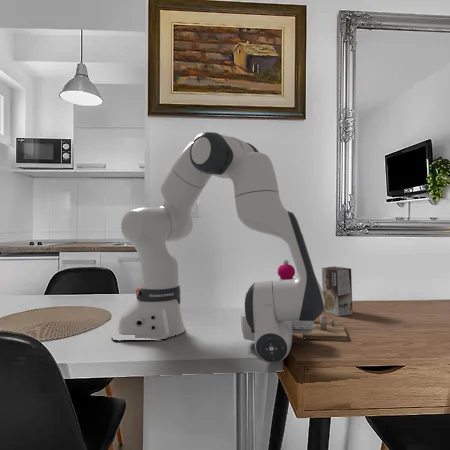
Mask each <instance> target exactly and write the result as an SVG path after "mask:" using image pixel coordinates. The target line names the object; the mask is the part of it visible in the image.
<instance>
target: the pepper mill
mask: <svg viewBox="0 0 450 450" xmlns="http://www.w3.org/2000/svg"><path fill="white" fill-rule="evenodd" d="M289 262H290V261H289V260H288V259H284V260H283V264H281V265H279V267H278V268H277V275H278V277H279V278H278V281H280V280H290V279H295V278H294V276H295V275H296V268H294V267H295V266H293V265H292V264H290V263H289Z"/></svg>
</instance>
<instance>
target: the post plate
mask: <svg viewBox="0 0 450 450" xmlns="http://www.w3.org/2000/svg"><path fill="white" fill-rule="evenodd" d="M314 324H315V325H316V329H313V331H312V332H310V333H302V339H303V338H305V339H321V340H320V341H341V342H342V341H344V342H346V341H348V334H347V332H346V329H345V328H344V325H343V324H338V323H337V324H336V323H335V319H333V318H331V319H330V323H327V315H322V314H321V315H320V316H319V323H314Z"/></svg>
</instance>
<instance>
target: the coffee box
mask: <svg viewBox="0 0 450 450" xmlns="http://www.w3.org/2000/svg"><path fill="white" fill-rule="evenodd" d="M321 280H322V283H321V284H322V285H321V286H322V287H321V288H322V291H323V294H324V298H325V307H324V311H325V312H324V311H323V312H324V313H328V314H332V315H335V316H337V317H342V316H343V317H344V316H350V315H353V314H354V313H353V290H352V289H353V287H352V286H353V285H352V280H353V279H352V268H349V267H344V266H343V267H341V266H328V267H321Z"/></svg>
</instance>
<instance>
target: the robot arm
mask: <svg viewBox="0 0 450 450" xmlns="http://www.w3.org/2000/svg"><path fill="white" fill-rule="evenodd" d="M212 176H214V177H217V178H221V179H230V180H231V182H232V184H233V191H234V202H235V208H236V212H237V216H238V219H239V221H240V222H241V223H242V224H243V225H244V226H245V227H247V228H248V229H250V230H252V231H255V232H258V233H263V234H266V235H271V236H274V237H277V238H279V239H282V240H283V241H284V242H285V243H286V244H287V245H288V249H289V251H290V254H291V257H292V260H293V263H294V267H295V271H296V273H297V276H296V277H295V278H294V279H290V280H269V281H268V280H267V281H260V282H254V283H252V284H251V285H250V286H249V288H248V290H247V292H246V293H245V298H244V312H242V313H241V315H240V316H241V317H240V319H241V320H240V321H241V332H242V337H243V340H246V341H247V340H248V341H253V342H254V349H255V353H256V355H258V357H259V358H260V359H261V360H263V361H265V362H267V363H279V362H282V361H283V360H284V359H286V358H287V356H288V355H289V353H290V351H291V349H292V343H293V334H303V333H310V332H312V331H313V329H316V325H315V324H316V323H315V320H317V319H318V318H320V316H321V315H322V314H323V312H324V307H325V298H324V294H323V287H321V286H322V285H320V283H319V281H318V278H317V277H316V274H315V271H314V266H313V263H312V260H311V258H310V254H309V250H308V247H307V244H306V241H305V237H304V236H303V233H302V230H301V228H300V225H299V222H298V219H297V217H296V216H295V214H294V212H291V211H288V210H287V209H286V207H285V206H284V205H283V203H282V200H281V197H280V193H279V186H278V185H279V184H278V181H277V175H276V172H275V168H274V166H273V163H272V160H271V158H270V157H269V156H268V155H267V154H265V153H262V152H259V150H258V149H257V148H256V147H255V146H254V145H252V144H251V143H249V142H245V141H244V140H241V139H239V138H236V137H234V136H228V135H224V134H220V133H218V132H213V131H205V132H201V133H199V134H198V135H196V137H195V138H194V139H193V140H192V141H191V142H190V143H189V144H188V145H187V146H186V147H185V148H184V149H183V151H182V152H181V153H180V154H179V155H178V156H177V159H176V160H175V161H174V163H173V165H172V167H171V168H170V170H169V172H168V174H167V175H166V176H165V179H164V180H163V182H162V184H161V187H160V192H161V195H162V197H163V199H164V200H163V203H162V204H161V205H160V206H158V207H143V206H142V207H138V208H135V209H131V210H128V211H126V212H125V214H124V215H123V217H122V220H121V223H120V229H121V233H122V235H123V237H124V239H125V240H126V241H128V242H129V243H130V244H131V245H132V246H133V247H134V249H135V250H136V252H137V254H138V257H139V260H140V264H141V271H142V272H141V275H142V287H140V286H139V287H137V288H136V289H135V294H136V295H135V296H136V301H134V302H133V303H132V304H131V305H129V306H128V307H127V308H126V309H125V310H124V311H123V312H122V313H121V315H120V316H119V321H118V326H117V327H118V332H119V334H122V335H135V338H145V339H146V338H148V339H149V338H150V339H166V338H168V337H170V338H172V337H174V336H175V335H176V336H178V335H180V334H181V335H182V333H184V332H185V331H186V327H185V324H184V320H183V316H182V311H181V302H182V299H181V298H182V294H181V293H182V292H181V285H179V264H178V260H177V259H176V258H175V257H174V256H172V255H171V254H170V252H169V250H168V247H167V242H168V243H169V242H170V243H171V242H177V241H180V240H183V239H185V238H187V237H189V235H190V234H191V233H192V230H193V225H194V224H193V219H192V216H191V213H192V209H193V207H194V205H195V203H196V201H197V200H198V198H199V197H200V195H201V193H202V192H203V190H204V189H205V187H206V185H207V183H208V181H209V180H210V178H211V177H212ZM171 336H172V337H171ZM168 339H169V338H168ZM166 340H167V339H166Z"/></svg>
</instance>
